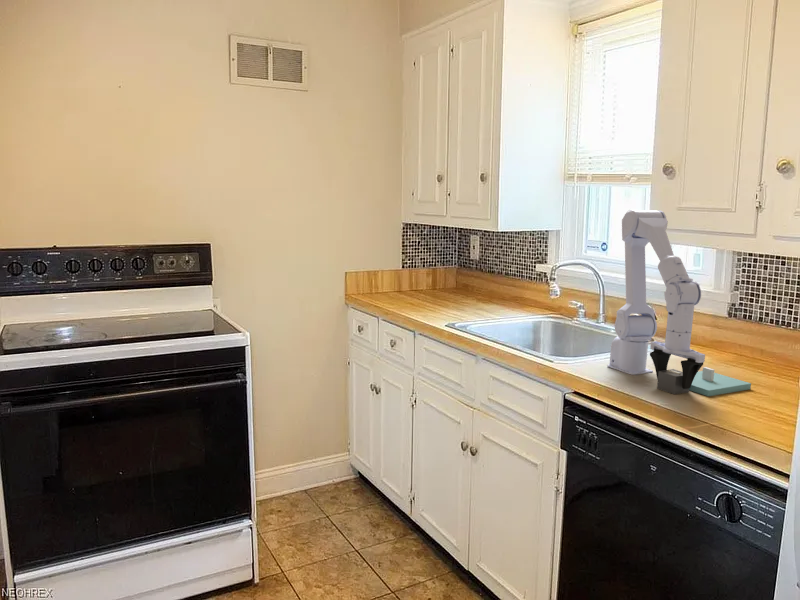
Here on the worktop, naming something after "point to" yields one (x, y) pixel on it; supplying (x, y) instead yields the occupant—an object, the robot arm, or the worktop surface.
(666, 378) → the grey drawer cube
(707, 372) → the base
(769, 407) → the worktop surface
